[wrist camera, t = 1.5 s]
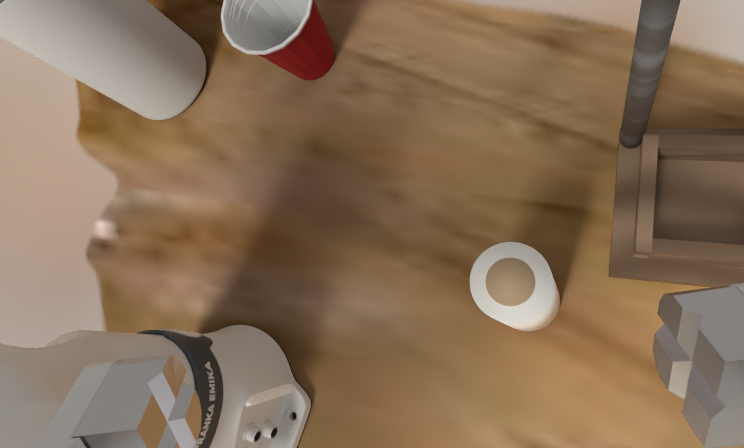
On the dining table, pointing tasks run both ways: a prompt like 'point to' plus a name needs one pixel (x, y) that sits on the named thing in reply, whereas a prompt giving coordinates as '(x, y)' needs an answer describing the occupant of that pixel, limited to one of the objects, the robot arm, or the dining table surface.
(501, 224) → the dining table surface
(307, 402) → the robot arm
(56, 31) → the cylinder vase
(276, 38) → the plastic cup
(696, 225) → the roll holder
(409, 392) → the dining table surface
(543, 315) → the paper roll
